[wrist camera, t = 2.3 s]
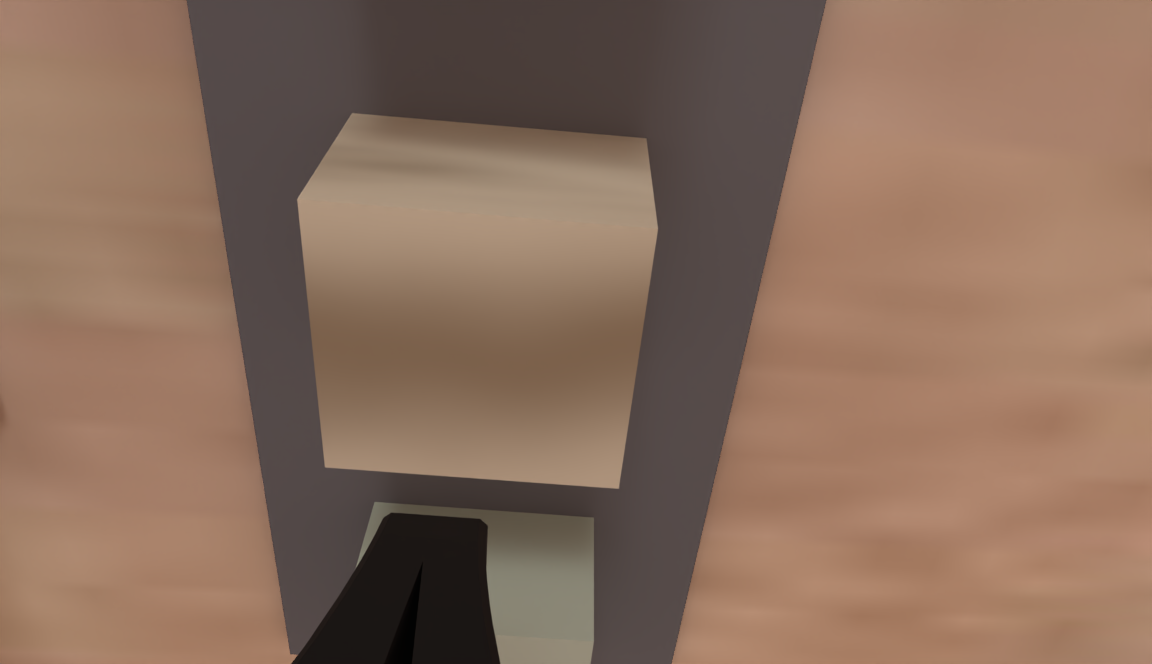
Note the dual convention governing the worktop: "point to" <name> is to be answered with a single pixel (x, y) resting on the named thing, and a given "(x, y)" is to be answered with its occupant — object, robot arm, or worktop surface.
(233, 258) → the tap mat
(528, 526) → the numeral block seven
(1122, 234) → the worktop surface
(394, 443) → the plain block
